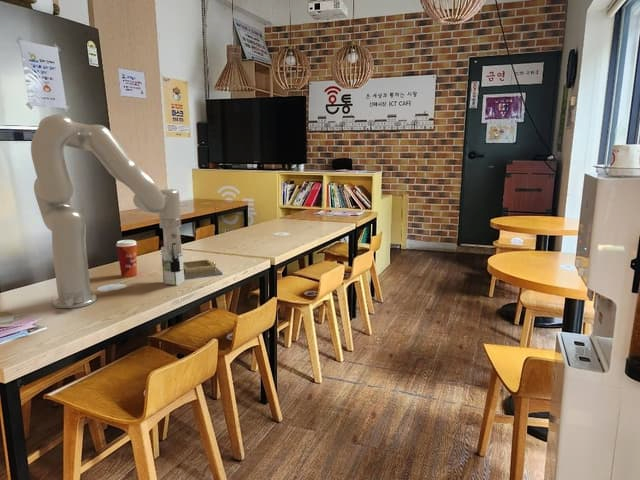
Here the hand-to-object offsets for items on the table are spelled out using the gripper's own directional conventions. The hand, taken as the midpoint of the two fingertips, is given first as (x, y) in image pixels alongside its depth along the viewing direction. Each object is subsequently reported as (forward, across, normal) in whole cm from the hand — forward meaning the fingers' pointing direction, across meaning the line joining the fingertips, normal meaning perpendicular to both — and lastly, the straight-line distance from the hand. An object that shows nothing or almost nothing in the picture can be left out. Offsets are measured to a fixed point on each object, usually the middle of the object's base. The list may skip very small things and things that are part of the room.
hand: (173, 268), depth 171 cm
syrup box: (+6, 0, 0) cm, 6 cm away
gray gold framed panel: (+6, +14, -12) cm, 19 cm away
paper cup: (+6, +19, +14) cm, 24 cm away
